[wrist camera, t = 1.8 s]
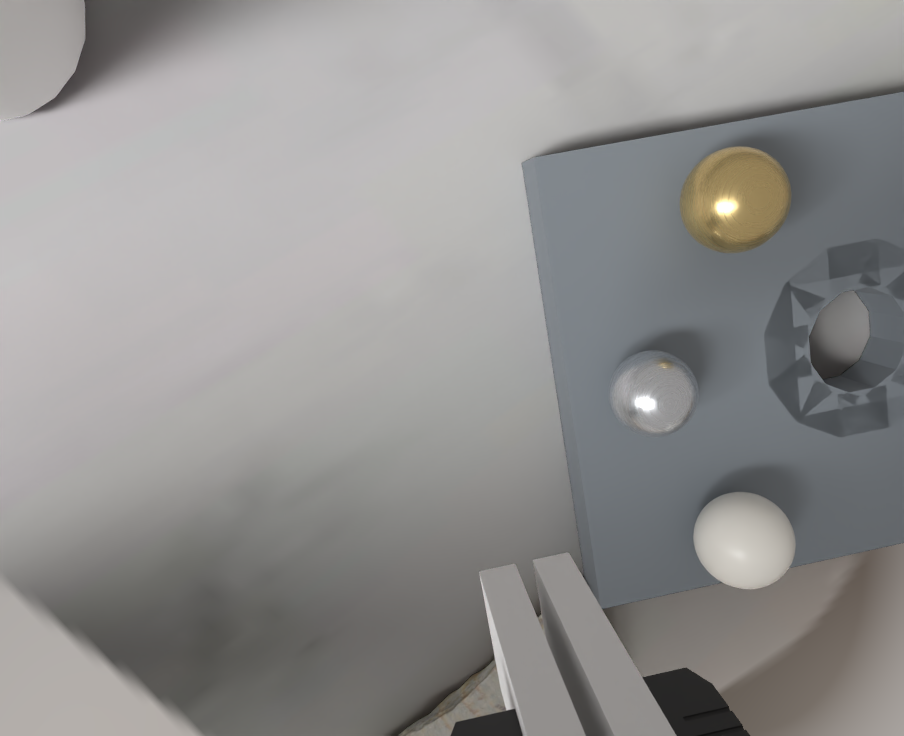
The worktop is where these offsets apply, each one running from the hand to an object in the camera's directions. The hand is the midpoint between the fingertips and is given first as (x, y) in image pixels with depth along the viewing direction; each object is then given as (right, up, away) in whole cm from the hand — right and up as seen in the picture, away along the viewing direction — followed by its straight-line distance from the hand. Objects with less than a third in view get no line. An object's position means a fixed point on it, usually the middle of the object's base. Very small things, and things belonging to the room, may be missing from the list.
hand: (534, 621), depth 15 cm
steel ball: (+6, +4, +14) cm, 16 cm away
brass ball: (+9, +12, +13) cm, 20 cm away
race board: (+12, +6, +19) cm, 23 cm away
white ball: (+11, -2, +16) cm, 19 cm away
